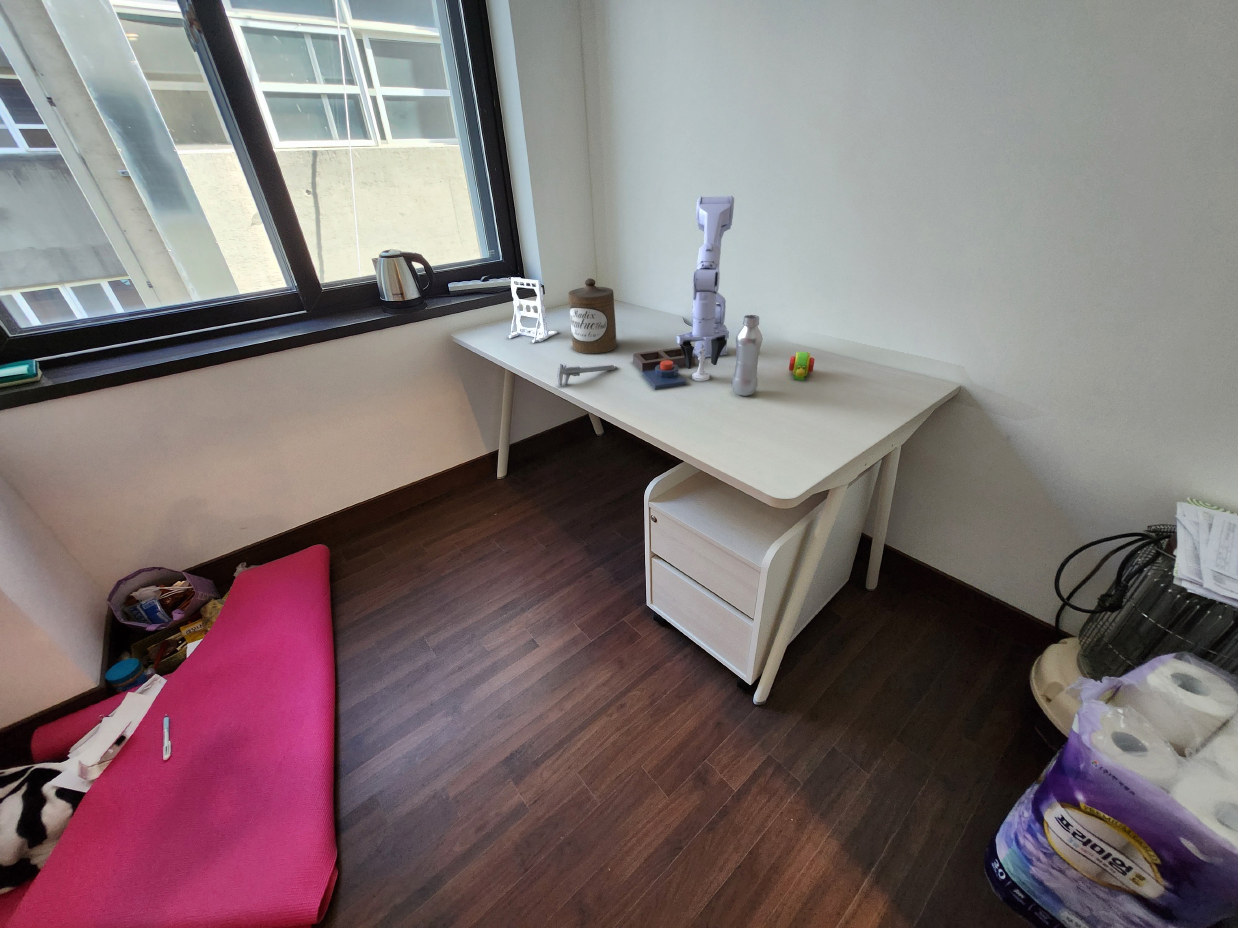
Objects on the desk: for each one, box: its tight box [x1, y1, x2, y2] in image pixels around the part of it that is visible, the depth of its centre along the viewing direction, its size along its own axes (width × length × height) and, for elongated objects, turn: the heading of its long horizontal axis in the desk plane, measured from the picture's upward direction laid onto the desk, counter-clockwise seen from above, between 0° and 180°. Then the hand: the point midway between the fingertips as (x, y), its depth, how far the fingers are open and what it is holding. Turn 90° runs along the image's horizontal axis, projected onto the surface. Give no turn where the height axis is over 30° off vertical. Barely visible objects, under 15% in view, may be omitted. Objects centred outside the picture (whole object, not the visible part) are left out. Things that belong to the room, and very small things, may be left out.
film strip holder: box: [508, 276, 558, 344], centre depth 171 cm, size 14×14×20 cm
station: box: [641, 364, 687, 390], centre depth 136 cm, size 9×11×3 cm
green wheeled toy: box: [788, 351, 815, 381], centre depth 137 cm, size 6×19×7 cm, turn 160°
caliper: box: [556, 363, 618, 387], centre depth 139 cm, size 20×1×6 cm, turn 129°
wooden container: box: [567, 277, 617, 355], centre depth 158 cm, size 15×15×22 cm
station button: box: [660, 360, 673, 371], centre depth 136 cm, size 4×4×2 cm
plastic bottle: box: [731, 314, 764, 397], centre depth 121 cm, size 6×7×20 cm
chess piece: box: [691, 343, 710, 382], centre depth 134 cm, size 5×5×10 cm
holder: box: [632, 346, 696, 373], centre depth 146 cm, size 17×9×3 cm, turn 106°
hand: (701, 365), depth 135 cm, fingers open, 7 cm apart
